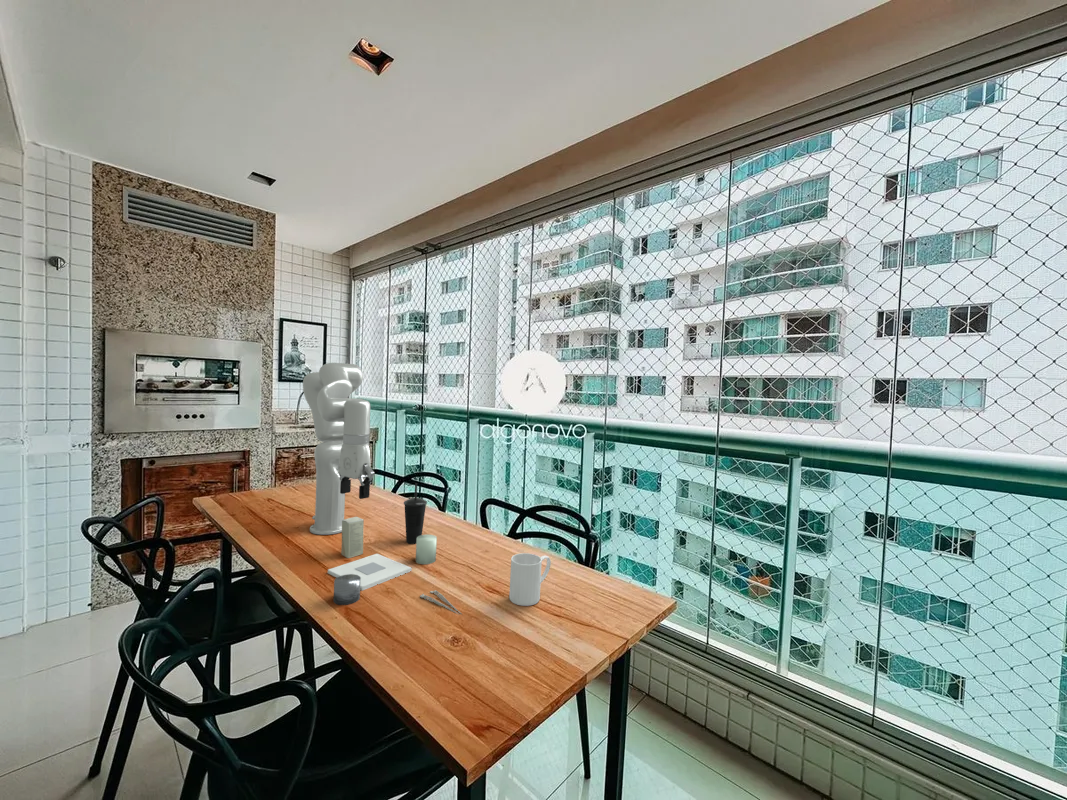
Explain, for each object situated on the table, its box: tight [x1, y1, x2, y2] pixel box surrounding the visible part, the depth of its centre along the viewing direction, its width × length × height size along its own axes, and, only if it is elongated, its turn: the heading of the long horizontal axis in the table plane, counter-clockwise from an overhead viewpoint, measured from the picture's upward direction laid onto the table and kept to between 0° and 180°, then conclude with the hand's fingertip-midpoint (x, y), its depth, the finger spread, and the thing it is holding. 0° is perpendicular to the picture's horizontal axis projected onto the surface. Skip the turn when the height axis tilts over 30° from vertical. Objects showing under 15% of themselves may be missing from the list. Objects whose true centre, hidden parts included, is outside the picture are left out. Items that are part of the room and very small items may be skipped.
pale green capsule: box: [415, 534, 438, 565], centre depth 137 cm, size 6×6×7 cm
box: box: [340, 516, 364, 559], centre depth 138 cm, size 5×4×11 cm
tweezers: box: [419, 589, 462, 615], centre depth 109 cm, size 17×5×2 cm, turn 49°
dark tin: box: [333, 574, 361, 606], centre depth 110 cm, size 6×6×5 cm
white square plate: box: [327, 553, 413, 591], centre depth 126 cm, size 16×16×1 cm
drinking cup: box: [403, 482, 428, 545], centre depth 151 cm, size 8×8×20 cm
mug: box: [508, 552, 552, 607], centre depth 116 cm, size 12×8×10 cm, turn 130°
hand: (354, 495), depth 137 cm, fingers open, 9 cm apart
